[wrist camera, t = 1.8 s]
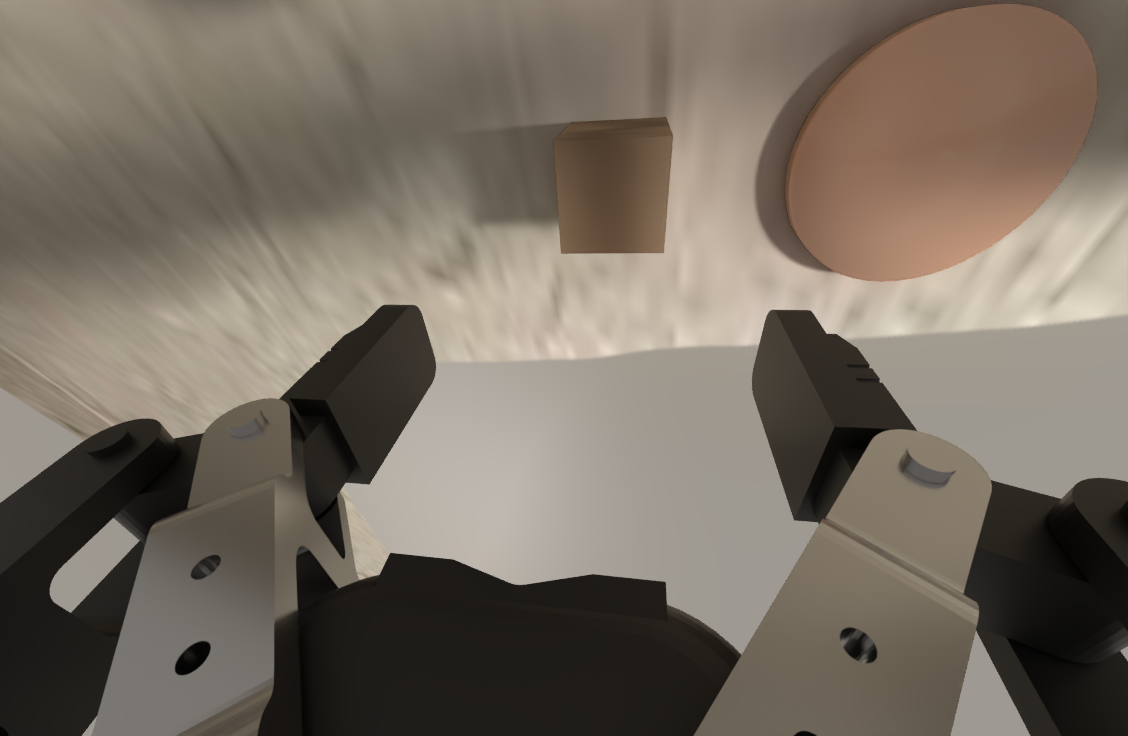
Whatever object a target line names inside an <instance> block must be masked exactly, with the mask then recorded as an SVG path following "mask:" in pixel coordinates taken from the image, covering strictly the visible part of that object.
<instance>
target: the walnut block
mask: <svg viewBox="0 0 1128 736" xmlns="http://www.w3.org/2000/svg"><path fill="white" fill-rule="evenodd" d="M672 141H673V135H672V132H671V129H670V126H669V124H668V121H667V118H666V117H662V118H643V119H625V120H606V121H587V122H571V123H570V124H569V125H568V126H567V127H566V129H565V130H564V131H563V132H562V133H561V134H560V135H559V136H558V137H557V138H556V139H555V140H554V141H553V144H554V159H555V173H556V187H557V202H558V216H559V230H560V245H561V254H568V253H664V243H665V230H666V217H667V205H668V192H669V179H670V166H671V153H672Z"/></svg>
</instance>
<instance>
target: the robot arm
mask: <svg viewBox="0 0 1128 736" xmlns="http://www.w3.org/2000/svg"><path fill="white" fill-rule="evenodd" d="M435 371H436V362H435V357H434V353H433V350H432V347H431V343H430V340H429V336H428V333H427V330H426V326H425V323H424V320H423V316H422V313H421V311H420V310H419V308H418V307H417V306H415V305H383V306H381V307H380V308H379V309H378V310H377V311H376V312H375V313H374V314H373V315H372V316H371V317H370V318H369V319H368V320H367V321H366V322H365V323H364V324H363V325H362V326H360V327H358V328H356V329H355V330H353V331H351V332H350V333H348V334H346V335H344V336H343V337H342V338H341V339H340V340H339V341H338V342H337V343H336V344H335V345H334V346H333V347H332V348H331V351H328V352H327V353H326V354H325V355H324V356H323V357H322V358H321V359H320V362H317V363H316V364H315V365H314V366H313V367H312V368H310V369H309V370H308V371H307V372H306V373H305V374H304V375H303V376H302V377H301V378H300V379H299V380H298V381H297V382H296V383H295V384H294V385H293V386H292V387H291V388H290V389H289V390H288V391H287V392H286V393H285V394H284V395H283V396H282V397H281V398H280V399H270V398H269V399H261V400H256V401H252V402H249V403H246V404H243V405H240V406H238V407H236V408H234V409H232V410H230V411H228V412H227V413H225V414H223V415H222V416H220V417H219V418H218V419H216V420H215V421H214V422H213V423H212V424H211V425H210V426H209V427H208V428H207V429H206V431H205V432H204V433H203V434H197V435H191V436H186V437H180V438H174V439H173V437H172V436H171V435H170V434H169V433H168V432H167V430H166V429H165V428H164V427H163V426H162V425H161V423H160V422H158V421H157V420H154V419H137V420H132V421H127V422H124V423H121V424H118V425H115V426H112V427H110V428H107V429H105V430H103V431H101V432H99V433H97V434H95V435H93V436H91V437H90V438H88V439H86V440H85V441H83V442H82V443H80V444H79V445H77V446H76V447H75V448H73V449H72V450H71V451H69V452H68V453H67V454H65V455H64V456H63V457H62V458H60V459H59V460H58V461H56V462H55V463H53V464H52V465H51V466H50V467H48V468H47V469H45V470H44V471H43V472H41V473H40V474H39V475H37V476H36V477H35V478H33V479H32V480H31V481H29V482H28V483H27V484H25V485H24V486H23V487H21V488H20V489H18V490H17V491H16V492H14V493H13V494H12V495H11V496H9V497H8V498H6V499H5V500H4V501H3V502H1V503H0V736H82V734H83V733H84V732H85V731H86V729H87V728H88V727H89V725H90V724H91V723H92V721H93V720H94V719H95V717H96V716H97V719H96V722H95V726H94V729H93V733H92V736H950V735H951V731H952V727H953V722H954V718H955V714H956V710H957V706H958V702H959V698H960V693H961V690H962V685H963V681H964V677H965V673H966V669H967V665H968V661H969V656H970V652H971V648H972V644H973V640H974V636H975V632H976V631H977V633H978V635H979V637H980V639H981V640H982V642H983V644H984V646H985V648H986V650H987V652H988V654H989V656H990V658H991V660H992V662H993V664H994V666H995V668H996V670H997V672H998V673H999V675H1000V677H1001V679H1002V681H1003V683H1004V685H1005V687H1006V689H1007V691H1008V693H1009V695H1010V696H1011V699H1012V700H1013V702H1014V704H1015V706H1016V708H1017V710H1018V712H1019V714H1020V716H1021V718H1022V720H1023V722H1024V724H1025V725H1026V728H1027V730H1028V731H1029V733H1030V735H1031V736H1128V661H1127V660H1126V658H1125V657H1124V656H1123V654H1122V653H1121V652H1120V650H1122V649H1123V648H1125V647H1127V646H1128V482H1126V481H1121V480H1115V479H1108V478H1092V479H1086V480H1083V481H1080V482H1079V483H1077V484H1076V485H1075V486H1074V487H1073V488H1072V489H1071V490H1070V491H1069V492H1068V493H1067V494H1066V495H1065V496H1064V497H1063V498H1062V499H1059V498H1055V497H1052V496H1048V495H1044V494H1040V493H1037V492H1032V491H1028V490H1025V489H1021V488H1017V487H1014V486H1010V485H1006V484H1003V483H999V482H995V481H992V480H990V478H989V476H988V474H987V472H986V471H985V469H984V468H983V467H982V466H981V465H980V464H979V463H978V462H977V461H976V460H975V459H974V458H973V457H972V456H970V455H969V454H968V453H967V452H965V451H964V450H962V449H960V448H959V447H957V446H955V445H954V444H952V443H950V442H948V441H945V440H943V439H941V438H939V437H936V436H933V435H930V434H927V433H923V432H919V431H917V430H916V429H915V427H914V426H913V424H912V423H911V422H910V420H909V419H908V418H907V416H906V415H905V413H904V412H903V411H902V409H901V408H900V407H899V405H898V404H897V402H896V401H895V400H894V398H893V397H892V395H891V394H890V393H889V391H888V390H887V388H886V387H885V386H884V384H883V383H880V382H879V380H880V379H879V377H878V376H877V375H876V373H875V372H874V371H873V369H871V368H869V364H868V362H867V361H866V360H865V358H864V357H863V355H862V354H861V353H860V351H859V350H858V348H856V347H854V346H853V345H851V344H850V343H849V342H847V341H846V340H844V339H843V338H841V337H840V336H838V335H837V334H826V332H825V331H824V329H823V328H822V326H821V325H820V323H819V322H818V320H817V319H816V317H815V316H814V314H813V313H812V312H811V311H809V310H771V311H770V312H769V313H768V315H767V317H766V320H765V324H764V328H763V332H762V336H761V340H760V344H759V348H758V352H757V356H756V360H755V364H754V368H753V375H752V390H753V395H754V399H755V402H756V405H757V408H758V411H759V414H760V417H761V420H762V423H763V426H764V429H765V433H766V436H767V438H768V442H769V445H770V448H771V451H772V454H773V457H774V460H775V463H776V466H777V469H778V472H779V475H780V478H781V482H782V485H783V488H784V490H785V494H786V497H787V500H788V503H789V506H790V509H791V512H792V515H793V518H794V520H798V521H810V522H818V523H819V526H818V527H817V529H816V531H815V532H814V534H813V536H812V537H811V539H810V541H809V543H808V544H807V546H806V548H805V549H804V551H803V553H802V554H801V556H800V558H799V559H798V561H797V563H796V565H795V566H794V568H793V570H792V571H791V573H790V575H789V576H788V578H787V580H786V581H785V583H784V585H783V586H782V588H781V590H780V591H779V593H778V595H777V596H776V598H775V600H774V602H773V603H772V605H771V606H770V608H769V610H768V612H767V613H766V615H765V617H764V618H763V620H762V622H761V623H760V625H759V627H758V628H757V630H756V632H755V633H754V635H753V637H752V638H751V640H750V642H749V643H748V645H747V647H746V649H745V650H744V652H743V654H742V655H741V654H740V653H739V652H738V651H737V650H736V649H735V648H734V647H733V646H732V645H731V644H730V643H729V642H727V641H726V640H725V639H724V638H723V637H722V636H720V635H719V634H718V633H717V632H716V631H714V630H713V629H711V628H710V627H708V626H707V625H705V624H704V623H702V622H701V621H700V620H698V619H696V618H694V617H692V616H691V615H689V614H687V613H685V612H683V611H681V610H679V609H676V608H674V607H671V606H669V605H667V601H666V583H665V582H660V581H651V580H641V579H632V578H622V577H612V576H603V575H594V574H592V575H586V576H579V577H572V578H566V579H559V580H553V581H546V582H540V583H533V584H527V585H514V584H511V583H508V582H506V581H504V580H501V579H499V578H496V577H494V576H491V575H489V574H487V573H484V572H482V571H479V570H477V569H474V568H472V567H470V566H467V565H465V564H462V563H460V562H458V561H455V560H451V559H443V558H433V557H424V556H414V555H405V554H395V553H390V555H389V557H388V559H387V561H386V563H385V565H384V567H383V569H382V571H381V573H380V575H377V576H373V577H369V578H365V579H362V580H359V579H358V576H357V572H356V568H355V562H354V556H353V550H352V544H351V537H350V531H349V525H348V519H347V513H346V506H345V501H344V498H343V496H342V495H341V493H340V490H341V489H342V487H343V486H344V484H345V483H360V484H370V483H371V481H372V479H373V478H374V476H375V474H376V473H377V471H378V469H379V468H380V466H381V465H382V463H383V462H384V460H385V458H386V457H387V455H388V453H389V452H390V450H391V449H392V447H393V445H394V444H395V442H396V441H397V439H398V437H399V436H400V434H401V432H402V431H403V429H404V428H405V426H406V424H407V423H408V421H409V420H410V418H411V416H412V415H413V413H414V411H415V410H416V408H417V407H418V405H419V403H420V401H421V400H422V398H423V397H424V395H425V394H426V392H427V390H428V389H429V387H430V386H431V384H432V382H433V380H434V377H435ZM112 518H114V519H115V520H117V521H118V522H119V523H120V524H121V525H122V526H124V527H125V528H126V529H127V530H128V531H129V532H130V533H132V534H133V535H134V536H135V537H136V538H137V539H139V540H140V541H139V542H138V543H137V544H136V545H135V546H134V547H133V548H132V549H131V550H130V552H129V553H128V554H127V555H126V556H125V557H124V558H123V559H122V560H121V561H120V562H119V563H118V564H117V565H116V566H115V567H114V568H113V570H111V571H110V573H109V574H108V575H107V576H106V577H105V578H104V579H103V580H102V581H101V582H100V583H99V584H98V585H97V586H96V587H95V588H94V589H93V591H91V593H90V594H89V595H88V596H87V597H86V598H85V599H84V600H83V601H82V602H81V603H80V604H79V605H78V606H77V607H76V608H75V609H74V610H73V611H72V612H71V613H69V612H68V611H66V610H65V609H63V608H62V607H60V606H58V605H57V604H55V603H54V602H53V601H52V599H51V597H50V594H49V593H50V591H49V589H50V584H51V582H52V579H53V577H54V575H55V574H56V573H57V571H58V570H59V569H60V568H61V567H62V566H63V565H64V564H65V563H66V562H67V561H68V560H69V559H70V558H71V557H72V556H73V555H74V554H75V553H77V551H79V550H80V549H81V548H82V547H83V546H84V545H85V544H86V543H87V542H88V541H89V540H90V539H91V538H92V537H93V536H94V535H95V534H97V533H98V532H99V531H100V530H101V529H102V528H103V527H104V526H105V525H106V524H107V523H108V522H109V521H110V520H111V519H112Z"/></svg>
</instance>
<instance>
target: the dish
mask: <svg viewBox="0 0 1128 736" xmlns="http://www.w3.org/2000/svg"><path fill="white" fill-rule="evenodd" d="M1097 89H1098V82H1097V72H1096V65H1095V62H1094V59H1093V56H1092V52H1091V50H1090V48H1089V46H1088V45H1087V43H1086V41H1085V39H1084V38H1083V36H1082V35H1081V34H1080V33H1079V32H1078V31H1077V30H1076V29H1075V28H1074V27H1073V26H1072V25H1071V23H1069V22H1068V21H1066V20H1064V19H1063V18H1061V17H1060V16H1058V15H1057V14H1055V13H1052V12H1049V11H1047V10H1044V9H1041V8H1038V7H1034V6H1027V5H1021V4H992V5H983V6H975V7H968V8H962V9H955V10H950V11H946V12H943V13H939V14H936V15H933V16H929V17H927V18H924V19H922V20H920V21H917V22H915V23H912V24H910V25H908V26H906V27H904V28H902V29H900V30H899V31H897V32H895V33H893V34H891V35H889V36H888V37H886V38H885V39H883V40H882V41H880V42H879V43H877V44H876V45H874V46H873V47H871V48H870V49H869V50H867V51H866V52H865V53H864V54H862V55H861V56H860V57H859V58H858V59H856V60H855V61H854V62H853V63H852V64H850V65H849V66H848V67H847V68H846V69H845V70H844V71H843V72H842V73H841V74H840V75H839V76H838V77H837V78H836V79H835V80H834V81H833V83H832V84H831V85H830V86H829V88H828V89H827V90H826V91H825V92H824V94H823V95H822V96H821V97H820V99H819V100H818V102H817V103H816V104H815V106H814V107H813V109H812V110H811V112H810V113H809V115H808V117H807V119H806V120H805V122H804V124H803V126H802V128H801V130H800V131H799V134H798V136H797V138H796V141H795V143H794V146H793V148H792V151H791V155H790V158H789V162H788V166H787V172H786V178H785V202H786V210H787V213H788V217H789V220H790V223H791V225H792V227H793V229H794V231H795V233H796V235H797V236H798V237H799V239H800V240H801V242H802V243H803V244H804V245H805V247H806V248H807V249H808V250H809V252H810V253H811V254H812V255H813V256H814V257H815V258H816V259H817V260H818V261H820V262H821V263H822V264H824V265H825V266H827V267H828V268H830V269H832V270H834V271H836V272H838V273H840V274H842V275H845V276H849V277H852V278H856V279H861V280H867V281H899V280H905V279H912V278H917V277H921V276H925V275H929V274H932V273H935V272H938V271H941V270H944V269H947V268H949V267H952V266H954V265H956V264H958V263H961V262H963V261H965V260H967V259H969V258H971V257H973V256H975V255H977V254H978V253H980V252H982V251H984V250H985V249H987V248H989V247H990V246H992V245H993V244H995V243H996V242H998V241H1000V240H1001V239H1002V238H1004V237H1005V236H1006V235H1008V234H1009V233H1010V232H1012V231H1013V230H1014V229H1016V228H1017V227H1018V226H1019V225H1020V224H1021V223H1023V222H1024V221H1025V220H1026V219H1027V218H1028V217H1029V216H1030V215H1032V214H1033V213H1034V212H1035V211H1036V210H1037V209H1038V208H1039V207H1040V205H1041V204H1042V203H1043V202H1044V201H1045V200H1046V199H1047V198H1048V197H1049V196H1050V195H1051V193H1052V192H1053V191H1054V190H1055V188H1056V187H1057V186H1058V185H1059V183H1060V182H1061V181H1062V180H1063V178H1064V177H1065V175H1066V174H1067V172H1068V171H1069V169H1070V168H1071V166H1072V165H1073V163H1074V161H1075V160H1076V158H1077V156H1078V154H1079V152H1080V150H1081V148H1082V146H1083V144H1084V142H1085V139H1086V137H1087V134H1088V132H1089V129H1090V126H1091V124H1092V120H1093V116H1094V111H1095V107H1096V101H1097Z"/></svg>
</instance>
